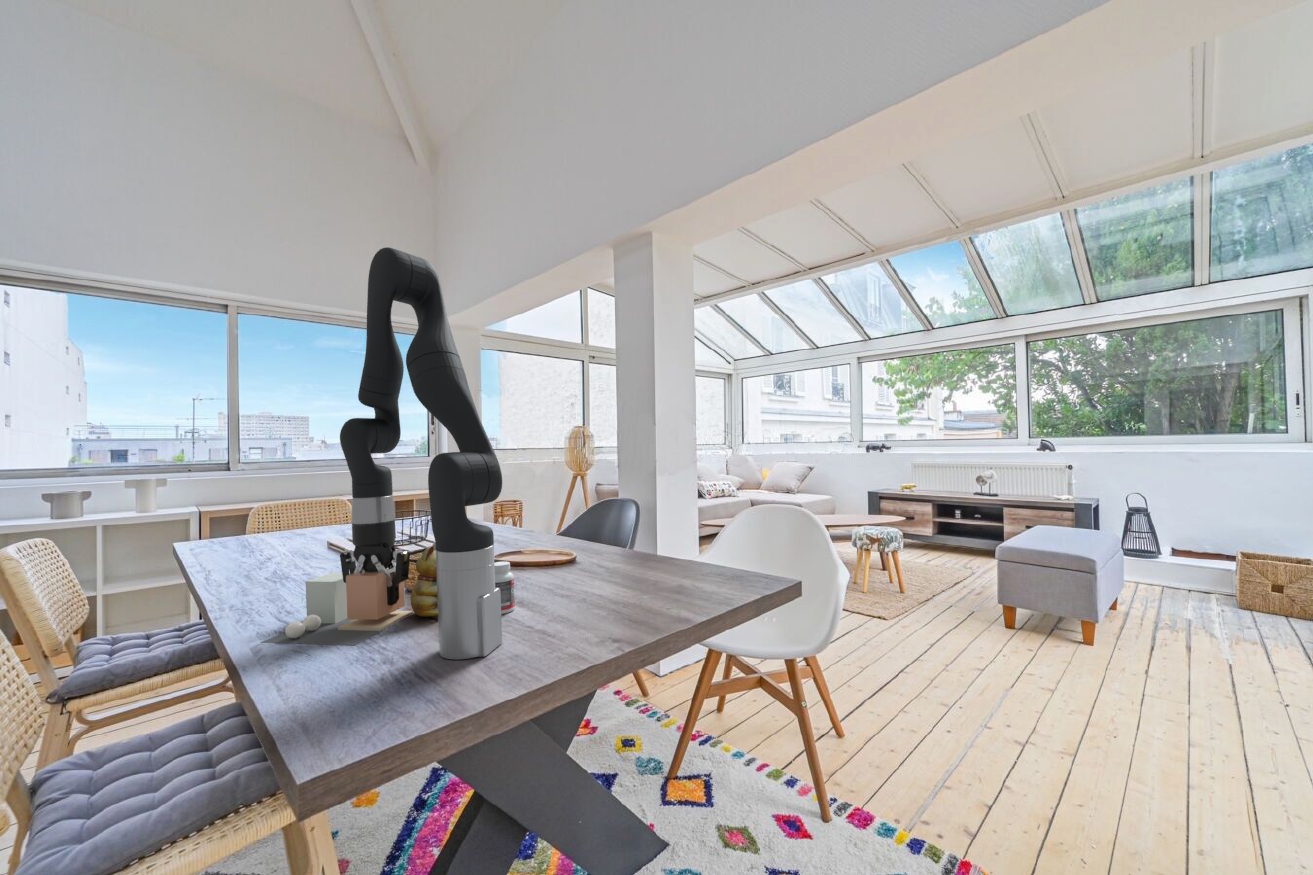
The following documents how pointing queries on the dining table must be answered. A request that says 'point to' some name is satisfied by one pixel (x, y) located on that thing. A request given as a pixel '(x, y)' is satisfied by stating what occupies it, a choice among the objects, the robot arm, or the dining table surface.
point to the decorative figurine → (426, 585)
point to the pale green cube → (327, 598)
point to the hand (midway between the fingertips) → (376, 603)
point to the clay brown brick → (370, 596)
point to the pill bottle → (505, 586)
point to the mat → (344, 631)
